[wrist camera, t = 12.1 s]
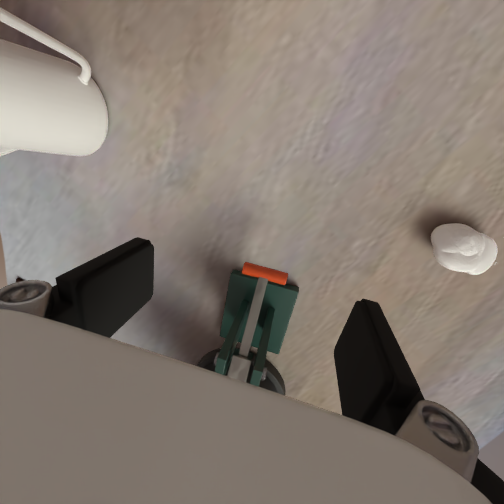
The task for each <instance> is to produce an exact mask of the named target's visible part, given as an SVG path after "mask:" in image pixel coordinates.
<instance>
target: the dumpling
mask: <svg viewBox="0 0 504 504" xmlns="http://www.w3.org/2000/svg"><path fill="white" fill-rule="evenodd" d="M431 242H432V246H433V247H434V250H433V254H434V257H435V259H436V261H437V262H438V263H439V264H441V265H442V266H444V267H446V268H448V269H450V270H454V271H459V272H467V273H469V274H472V275H478V274H481V273H483V272H485V271H486V270H488V269H489V268H490V267H491V265H492V264H493V263H494V261H495V259H496V255H497V252H498V250H497V245H496V243H495V241H494V239H493V238H491V237H490V236H488V235H486V234H484V233H479V232H477V231H476V230H474V229H473V228H471V227H469V226H467V225H464V224H459V223H451V224H450V223H449V224H443V225H440V226H438V227H436V228H435V229H434V230H433V232H432V234H431ZM496 263H497V262H495V263H494V264H493V265H495V264H496Z"/></svg>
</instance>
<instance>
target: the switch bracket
mask: <svg viewBox="0 0 504 504" xmlns="http://www.w3.org/2000/svg"><path fill="white" fill-rule="evenodd" d="M257 282H258V278H256V277H253V276H249V275H245V274H242V272H241V271H238V270H233V271H232V272H231V275H230V281H229V286H228V292H227V298H226V303H225V309H224V314H223V320H222V325H221V331H220V336H221V337H224V338H226V339H225V341H224V343H223V346H222V348H221V350H220V352H217V354H216V357H215V360H214V365H216V367H215V372H216V373H219V374H222V375H225V374H226V372H227V369H228V366H229V363H230V361H231V358H232V355H233V353H234V350H235V347H236V344H237V342H240V343H241V342H242V339H243V335H244V331H245V327H246V324H247V320H248V316H249V312H250V308H251V305H252V301H253V297H254V293H255V290H256V286H257ZM298 293H299V287H296V286H292V285H289V284H285V285H282V284H278V283H275V282H271V281H268V282H267V286H266V290H265V294H264V298H263V301H262V305H261V309H260V313H259V316H258V320H257V324H256V328H255V332H254V335H253V339H252V343H251V346H253V347H256V348H258V350H257V354H256V358H255V362H254V366H253V370H252V375H251V379H250V383H249V384H252V385H255V386H258V387H259V384H260V380H262V381H264V380H265V376H266V372H267V368H266V367H264V364H265V359H266V354H267V351H269V352H272V353H275V354H279V352H280V349H281V345H282V342H283V339H284V336H285V333H286V330H287V327H288V324H289V321H290V317H291V314H292V311H293V308H294V305H295V302H296V299H297V296H298Z"/></svg>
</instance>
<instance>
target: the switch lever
mask: <svg viewBox="0 0 504 504" xmlns="http://www.w3.org/2000/svg"><path fill="white" fill-rule="evenodd" d="M242 274H245V275H249V276H253V277H256V278H258V282H257V286H256V290H255V293H254V297H253V301H252V305H251V308H250V312H249V316H248V320H247V324H246V327H245V331H244V335H243V339H242V342H241V346H240V349H237V348H236V350H235V352H234V354H233V356H232V359H231V363H230V367H229V371H228V374H227V376H228V377H231V378H234V379H237V380H240V381H243V382H246V381H247V377H248V373H249V369H250V366H251V362H252V358H253V353H250V352H249V351H250V347H251V343H252V339H253V335H254V332H255V328H256V324H257V320H258V316H259V313H260V309H261V305H262V301H263V298H264V294H265V290H266V286H267V282H268V281H271V282H275V283H278V284H282V285H285V284H286V281H287V277H288V273H285V272H281V271H278V270H274V269H270V268H267V267H263V266H259V265H255V264H252V263H248V262H245V263H244V266H243V269H242Z"/></svg>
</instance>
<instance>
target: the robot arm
mask: <svg viewBox="0 0 504 504" xmlns="http://www.w3.org/2000/svg"><path fill="white" fill-rule="evenodd" d="M153 280H154V246H153V245H152V244H151V242H150V241H149V240H146V239H142V238H138V237H137V238H134V239H132V240H130V241H128V242H126V243H124V244H122V245H120V246H118V247H116V248H114V249H112V250H110V251H108V252H106V253H104V254H102V255H100V256H98V257H96V258H94V259H92V260H90V261H88V262H86V263H84V264H82V265H80V266H78V267H76V268H74V269H72V270H70V271H68V272H66V273H64V274H62V275H60V276H58V277H56V283H57V285H56V286H54V287H52V286H51V285H50V284H49V283H48V282H45V281H40V280H28V281H21V282H17V283H13V284H10V285H8V286H5V287H3V288H1V289H0V504H504V481H503V480H502V479H501V478H499V477H498V476H497V475H496V474H495V473H494V472H493V471H491V470H490V469H489V468H488V467H487V466H486V465H485V464H484V463H482V462H481V461H480V460H479V459H478V454H479V446H478V444H477V441H476V439H475V437H474V435H473V434H472V432H471V431H470V429H469V428H468V427H467V426H466V425H465V424H464V423H463V421H462V420H461V419H460V418H458V417H457V416H456V415H455V414H454V413H453V412H451V411H450V410H448V409H447V408H445V407H444V406H442V405H440V404H438V403H436V402H433V401H429V400H425V399H424V397H423V395H422V393H421V391H420V388H419V386H418V384H417V381H416V379H415V377H414V375H413V373H412V371H411V369H410V367H409V365H408V363H407V361H406V359H405V357H404V355H403V353H402V351H401V349H400V346H399V344H398V342H397V340H396V338H395V336H394V334H393V332H392V330H391V328H390V326H389V324H388V322H387V320H386V318H385V316H384V314H383V312H382V309H381V307H380V305H379V304H378V303H377V302H374V301H370V300H366V299H362V300H361V301H357V302H356V303H355V305H354V307H353V309H352V311H351V313H350V316H349V318H348V320H347V322H346V324H345V326H344V329H343V331H342V333H341V335H340V337H339V339H338V342H337V344H336V346H335V349H334V359H335V366H336V373H337V380H338V387H339V394H340V401H341V408H342V415H340V414H337V413H334V412H331V411H328V410H325V409H323V408H320V407H317V406H314V405H311V404H308V403H305V402H302V401H300V400H297V399H294V398H291V397H288V396H285V395H282V394H279V393H276V392H273V391H270V390H267V389H264V388H261V387H258V386H255V385H252V384H249V383H246V382H243V381H240V380H237V379H234V378H231V377H228V376H225V375H222V374H219V373H216V372H213V371H210V370H207V369H204V368H201V367H197V366H194V365H191V364H188V363H185V362H182V361H179V360H176V359H173V358H170V357H167V356H164V355H161V354H158V353H155V352H152V351H149V350H146V349H142V348H139V347H136V346H133V345H130V344H127V343H124V342H121V341H118V340H114V339H111V338H110V337H111V336H112V335H113V334H114V333H115V332H116V331H117V330H118V329H119V328H121V327H122V326H123V325H124V324H125V323H126V322H127V321H128V320H129V319H130V318H131V317H132V316H133V315H134V314H135V313H136V312H137V311H139V310H140V309H141V308H142V307H143V306H144V305H145V304H146V303H147V302H148V301H149V300H150V299H151V297H152V295H153Z"/></svg>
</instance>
